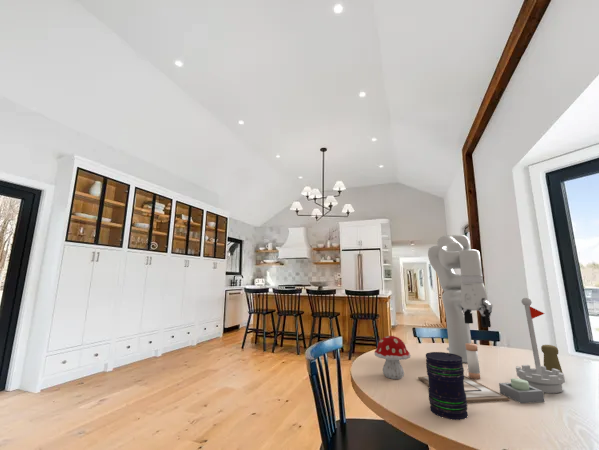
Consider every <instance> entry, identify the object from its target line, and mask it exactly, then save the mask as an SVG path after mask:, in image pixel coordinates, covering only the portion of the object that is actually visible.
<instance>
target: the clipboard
mask: <svg viewBox="0 0 599 450" xmlns="http://www.w3.org/2000/svg"><path fill="white" fill-rule="evenodd" d="M417 379H418V380H419V381H420V382H422V383H423V384H425V385H426V386H428V387H429V378H428V375H427V376H426V375H425V376H418V377H417ZM463 381H464V391H465V393H466V400H467V404H471V403H489V402H490V403H491V402H493V403H494V402H509V401H510V398H509V397H507V396H505V395H503V394H501V393H500V392H498V391H496V390H495V389H493V388H490V387H488V386H486V385H484V384H482V383H480V382H478V381H476V380H475V379H472V378H469V376H466V375H464V380H463Z"/></svg>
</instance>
